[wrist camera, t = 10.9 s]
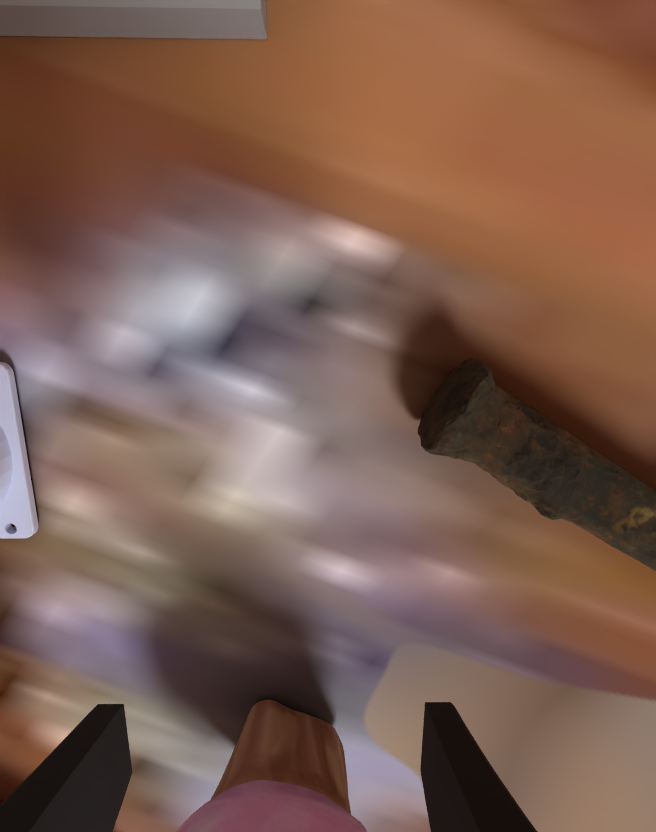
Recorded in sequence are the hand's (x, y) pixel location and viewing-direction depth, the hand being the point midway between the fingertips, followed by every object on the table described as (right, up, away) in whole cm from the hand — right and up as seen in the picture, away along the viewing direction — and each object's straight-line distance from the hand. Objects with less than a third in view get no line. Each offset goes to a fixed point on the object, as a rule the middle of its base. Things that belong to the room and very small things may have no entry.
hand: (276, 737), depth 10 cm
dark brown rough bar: (+14, +4, +10) cm, 18 cm away
